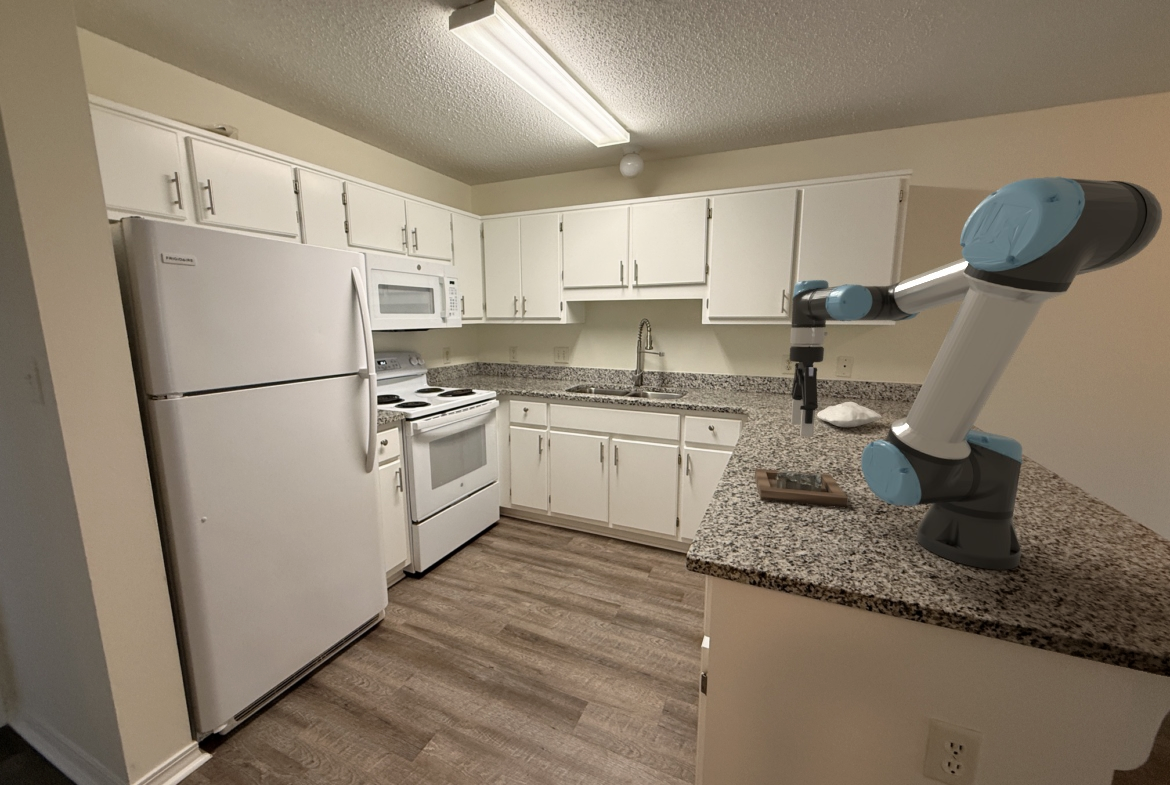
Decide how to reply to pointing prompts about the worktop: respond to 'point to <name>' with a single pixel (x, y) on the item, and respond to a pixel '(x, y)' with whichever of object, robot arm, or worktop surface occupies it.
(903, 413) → the worktop surface
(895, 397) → the worktop surface
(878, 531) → the worktop surface
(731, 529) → the worktop surface
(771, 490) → the pocket board
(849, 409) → the crumpled cloth
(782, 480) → the egg carton
